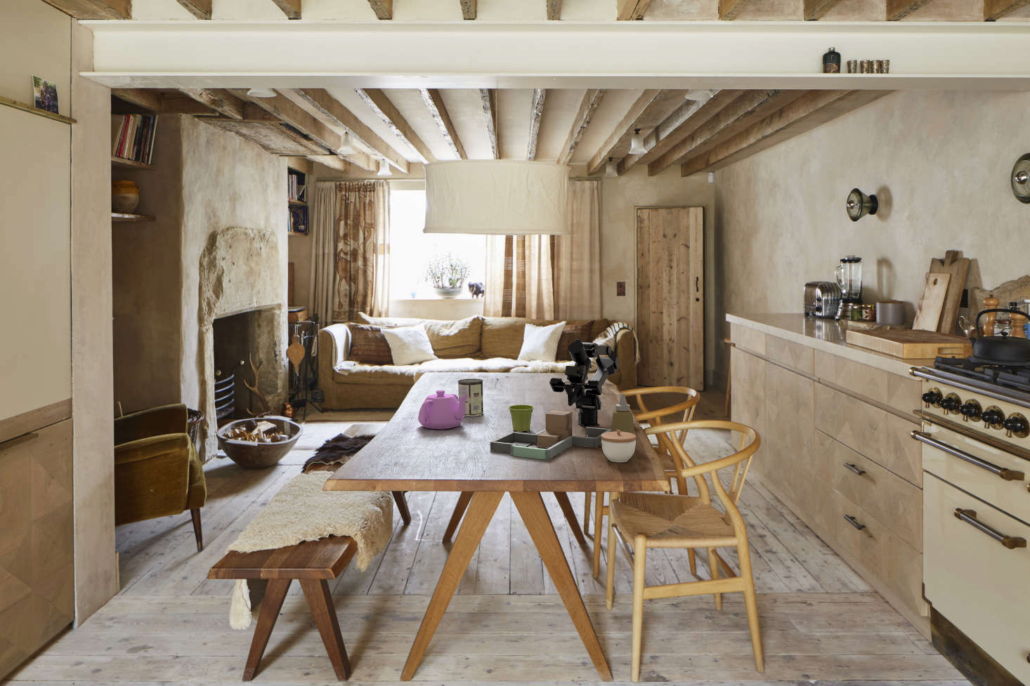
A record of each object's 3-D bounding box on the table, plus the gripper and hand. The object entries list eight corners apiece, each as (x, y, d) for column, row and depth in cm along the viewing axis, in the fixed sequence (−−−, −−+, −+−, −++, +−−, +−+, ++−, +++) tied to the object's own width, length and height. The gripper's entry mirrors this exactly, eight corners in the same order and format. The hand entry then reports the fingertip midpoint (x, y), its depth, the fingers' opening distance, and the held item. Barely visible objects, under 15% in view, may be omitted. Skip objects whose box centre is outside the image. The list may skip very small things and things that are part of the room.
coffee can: (468, 410, 295) (467, 377, 294) (488, 413, 289) (488, 379, 288) (453, 415, 286) (452, 381, 285) (473, 417, 281) (473, 383, 279)
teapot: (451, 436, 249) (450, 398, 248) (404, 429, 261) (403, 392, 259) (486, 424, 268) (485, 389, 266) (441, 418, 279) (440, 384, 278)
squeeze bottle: (636, 445, 234) (637, 392, 232) (632, 451, 226) (633, 396, 224) (612, 444, 236) (613, 391, 234) (607, 449, 229) (608, 395, 227)
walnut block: (553, 437, 246) (553, 409, 245) (572, 439, 243) (572, 411, 242) (537, 446, 233) (536, 417, 232) (556, 449, 230) (556, 419, 229)
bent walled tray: (534, 429, 258) (534, 421, 258) (612, 437, 245) (612, 429, 245) (487, 452, 226) (487, 443, 226) (573, 463, 213) (573, 453, 213)
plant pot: (531, 433, 252) (531, 409, 252) (506, 432, 254) (506, 409, 253) (536, 427, 262) (536, 405, 261) (511, 427, 263) (511, 404, 263)
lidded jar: (597, 455, 221) (598, 426, 220) (631, 454, 222) (631, 425, 221) (605, 465, 211) (605, 434, 210) (639, 464, 211) (640, 433, 211)
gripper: (551, 355, 255) (538, 390, 247) (599, 358, 247) (588, 394, 238) (559, 374, 263) (547, 408, 255) (606, 377, 255) (596, 412, 246)
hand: (569, 405), depth 248 cm, fingers closed
